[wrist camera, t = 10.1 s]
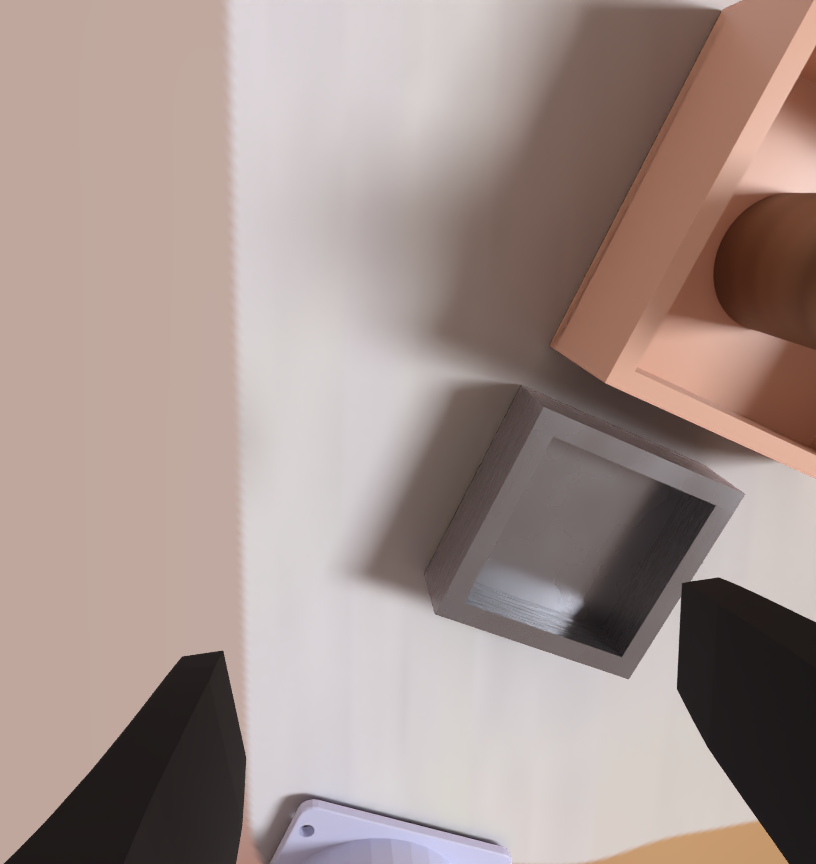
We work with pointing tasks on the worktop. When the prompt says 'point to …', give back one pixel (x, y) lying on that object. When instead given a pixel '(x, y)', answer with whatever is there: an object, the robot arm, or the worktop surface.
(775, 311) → the walnut strut
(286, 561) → the worktop surface
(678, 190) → the terracotta bin
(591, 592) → the metal socket
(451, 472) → the worktop surface
